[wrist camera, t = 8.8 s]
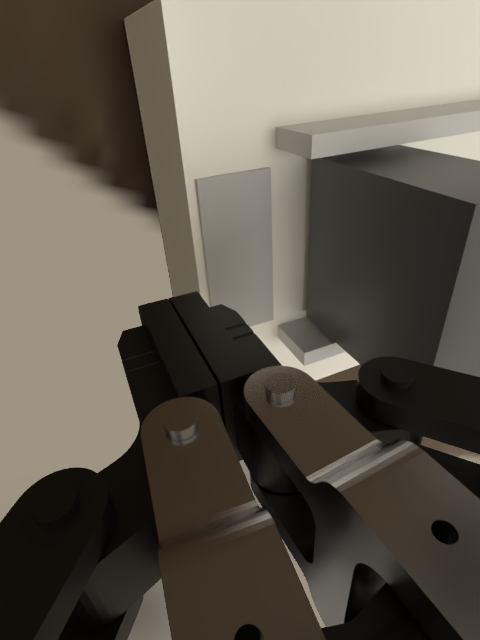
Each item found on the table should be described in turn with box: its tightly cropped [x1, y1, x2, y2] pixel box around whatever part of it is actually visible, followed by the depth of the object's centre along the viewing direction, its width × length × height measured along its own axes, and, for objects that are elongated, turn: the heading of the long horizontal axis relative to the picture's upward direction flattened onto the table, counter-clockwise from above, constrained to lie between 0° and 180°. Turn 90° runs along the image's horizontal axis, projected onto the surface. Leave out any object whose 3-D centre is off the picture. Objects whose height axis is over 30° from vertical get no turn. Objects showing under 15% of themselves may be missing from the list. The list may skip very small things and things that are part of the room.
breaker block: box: [124, 0, 480, 380], centre depth 17 cm, size 18×14×7 cm
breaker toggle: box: [306, 145, 480, 377], centre depth 12 cm, size 3×6×6 cm, turn 4°
